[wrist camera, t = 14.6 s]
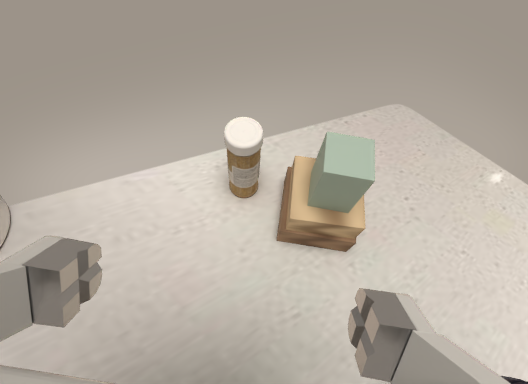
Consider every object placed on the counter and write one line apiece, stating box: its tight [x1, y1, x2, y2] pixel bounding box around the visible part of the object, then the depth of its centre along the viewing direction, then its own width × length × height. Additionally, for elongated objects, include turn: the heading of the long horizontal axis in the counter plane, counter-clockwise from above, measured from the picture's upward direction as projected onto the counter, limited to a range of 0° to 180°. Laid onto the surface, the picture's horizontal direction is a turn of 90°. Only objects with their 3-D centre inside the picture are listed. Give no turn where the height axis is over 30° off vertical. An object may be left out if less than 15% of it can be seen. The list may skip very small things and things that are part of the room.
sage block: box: [307, 132, 375, 213], centre depth 32 cm, size 5×5×8 cm
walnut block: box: [277, 167, 356, 252], centre depth 42 cm, size 10×10×4 cm
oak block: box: [286, 156, 365, 239], centre depth 38 cm, size 9×9×4 cm
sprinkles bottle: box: [224, 117, 263, 198], centre depth 39 cm, size 5×5×14 cm
